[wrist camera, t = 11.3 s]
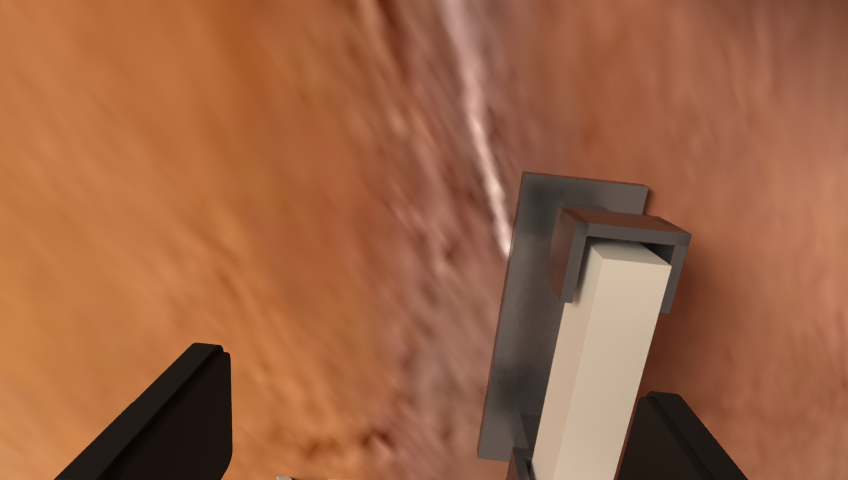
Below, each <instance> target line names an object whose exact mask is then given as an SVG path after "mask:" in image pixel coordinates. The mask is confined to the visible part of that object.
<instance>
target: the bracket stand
mask: <svg viewBox="0 0 848 480" xmlns="http://www.w3.org/2000/svg"><path fill="white" fill-rule="evenodd" d="M648 188H649V187H648V186H645V185H643V184H634V183H625V182H615V181H606V180H597V179H588V178H579V177H569V176H560V175H551V174H542V173H533V172H523V173H522V179H521V185H520V191H519V197H518V203H517V209H516V215H515V221H514V227H513V233H512V240H511V246H510V252H509V258H508V264H507V270H506V276H505V282H504V288H503V294H502V300H501V306H500V313H499V319H498V325H497V331H496V337H495V343H494V349H493V355H492V361H491V367H490V373H489V379H488V386H487V392H486V398H485V404H484V410H483V416H482V422H481V428H480V434H479V440H478V446H477V454H478V458H481V459H490V460H499V461H508V462H509V467H508V473H507V478H506V480H530V479H529V473H530V468H531V464H532V459H533V454H534V449H535V444H536V440H537V435H538V430H539V425H540V420H541V416H542V411H543V406H544V401H545V396H546V392H547V387H548V382H549V377H550V372H551V368H552V363H553V358H554V353H555V348H556V344H557V339H558V334H559V329H560V324H561V320H562V315H563V310H564V305H565V303H573V298H574V294H575V289H576V284H577V279H578V275H579V270H580V265H581V261H582V256H583V251H584V246H585V242H586V237H587V236H593V237H602V238H611V239H620V240H629V241H637V242H639V243H640V244H642V245H643V246H644V247H646V248H647V249H649V250H650V251H651V252H653V253H654V254H656V255H657V256H658V257H660V258H661V259H662V260H664V261H665V262H667V263H668V264H669V265H671V266H672V267H671V271H670V274H669V278H668V282H667V285H666V289H665V293H664V296H663V300H662V304H661V307H660V311H659V313H665V314H670V310H671V307H672V303H673V300H674V296H675V293H676V289H677V285H678V282H679V278H680V275H681V271H682V268H683V264H684V260H685V257H686V253H687V250H688V246H689V242H690V239H691V235H692V234H690V233H688V232H687V231H685V230H683V229H681V228H679V227H677V226H675V225H673V224H672V223H670V222H668V221H666V220H664V219H662V218H660V217H658V216H649V215H642V212H643V208H644V204H645V200H646V196H647V192H648Z"/></svg>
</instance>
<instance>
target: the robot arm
mask: <svg viewBox="0 0 848 480" xmlns="http://www.w3.org/2000/svg"><path fill="white" fill-rule="evenodd" d="M232 449H233V448H232V403H231V359H230V354H229V353H227V352H224V351H223V348H222V346H221V345H214V344H205V343H193V344H192V345H191V346H190V347H189V348H188V349H187V350H186V351H185V352H184V353H183V354H182V355H181V356H180V357H179V358H178V359H177V360H176V361H175V362H174V363H173V364H172V365H171V366H170V367H169V368H168V369H166V370H165V371H164V372H163V373H162V374H161V375H160V376H159V377H158V378H157V379H156V380H155V381H154V382H153V383H152V384H151V385H150V386H149V387H148V388H147V389H146V390H145V391H144V392H143V393H142V394H141V395H140V396H139V397H138V398H137V399H136V400H135V401H134V402H133V403H131V404H130V405H129V406H128V407H127V408H126V409H125V410H124V411H123V412H122V413H121V414H120V415H119V416H118V417H117V418H116V419H115V420H114V421H113V422H112V423H111V424H110V425H109V426H108V427H107V428H106V429H105V430H104V431H103V432H102V433H101V434H100V435H99V436H98V437H97V438H96V439H95V440H94V441H93V442H92V443H91V444H90V445H89V446H88V447H87V448H86V449H84V450H83V451H82V452H81V453H80V454H79V455H78V456H77V457H76V458H75V459H74V460H73V461H72V462H71V463H70V464H69V465H68V466H67V467H66V468H65V469H64V470H63V471H62V472H61V473H60V474H59V475H58V476H57V477H56V478H55V479H54V480H221V479H222V477H223V475H224V473H225V472H226V470H227V468H228V466H229V464H230V461H231V457H232ZM617 480H748V479H747V478H746V476H745V475H744V474H743V473H742V472H741V470H740V469H739V468H738V467H737V465H736V464H735V463H734V462H733V460H732V459H731V458H730V457H729V455H728V454H727V453H726V452H725V450H724V449H723V448H722V447H721V446H720V444H719V443H718V442H717V441H716V439H715V438H714V437H713V436H712V434H711V433H710V432H709V431H708V429H707V428H706V427H705V426H704V424H703V423H702V422H701V421H700V420H699V418H698V417H697V416H696V415H695V413H694V412H693V411H692V410H691V408H690V407H689V406H688V405H687V403H686V402H685V401H684V400H683V398H682V397H681V396H680V395H678V394H673V393H664V392H654V391H651V392H649V393H648V394H647V396H646V397H641V398H640V400H639V402H638V405H637V409H636V413H635V416H634V420H633V424H632V427H631V431H630V435H629V438H628V442H627V446H626V449H625V453H624V457H623V461H622V464H621V468H620V472H619V475H618V479H617Z"/></svg>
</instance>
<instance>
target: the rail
mask: <svg viewBox="0 0 848 480" xmlns="http://www.w3.org/2000/svg"><path fill="white" fill-rule="evenodd" d="M671 267H672V266H671V265H669V264H668V263H667V262H665V261H664V260H662V259H661V258H660V257H658V256H657V255H656V254H654V253H653V252H651V251H650V250H649V249H647V248H646V247H644V246H643V245H642V244H640V243H639V242H637V241H629V240H620V239H611V238H602V237H593V236H587V237H586V242H585V246H584V251H583V256H582V261H581V265H580V270H579V275H578V279H577V284H576V289H575V294H574V298H573V303H565V305H564V310H563V315H562V320H561V324H560V329H559V334H558V339H557V344H556V348H555V353H554V358H553V363H552V368H551V372H550V377H549V382H548V387H547V392H546V396H545V401H544V406H543V411H542V416H541V420H540V425H539V430H538V435H537V440H536V444H535V449H534V454H533V459H532V464H531V468H530V473H529V479H530V480H613V479H614V476H615V472H616V468H617V465H618V461H619V457H620V454H621V450H622V446H623V443H624V439H625V435H626V432H627V428H628V424H629V421H630V417H631V413H632V410H633V406H634V402H635V399H636V395H637V391H638V388H639V384H640V380H641V377H642V373H643V369H644V366H645V362H646V358H647V355H648V351H649V347H650V344H651V340H652V337H653V333H654V329H655V326H656V322H657V318H658V315H659V311H660V307H661V304H662V300H663V296H664V293H665V289H666V285H667V282H668V278H669V274H670V271H671Z"/></svg>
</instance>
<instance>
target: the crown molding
mask: <svg viewBox="0 0 848 480" xmlns="http://www.w3.org/2000/svg"><path fill="white" fill-rule="evenodd" d="M277 480H292V479H291V478H290V477H281V476H277ZM328 480H341V479H328Z"/></svg>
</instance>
